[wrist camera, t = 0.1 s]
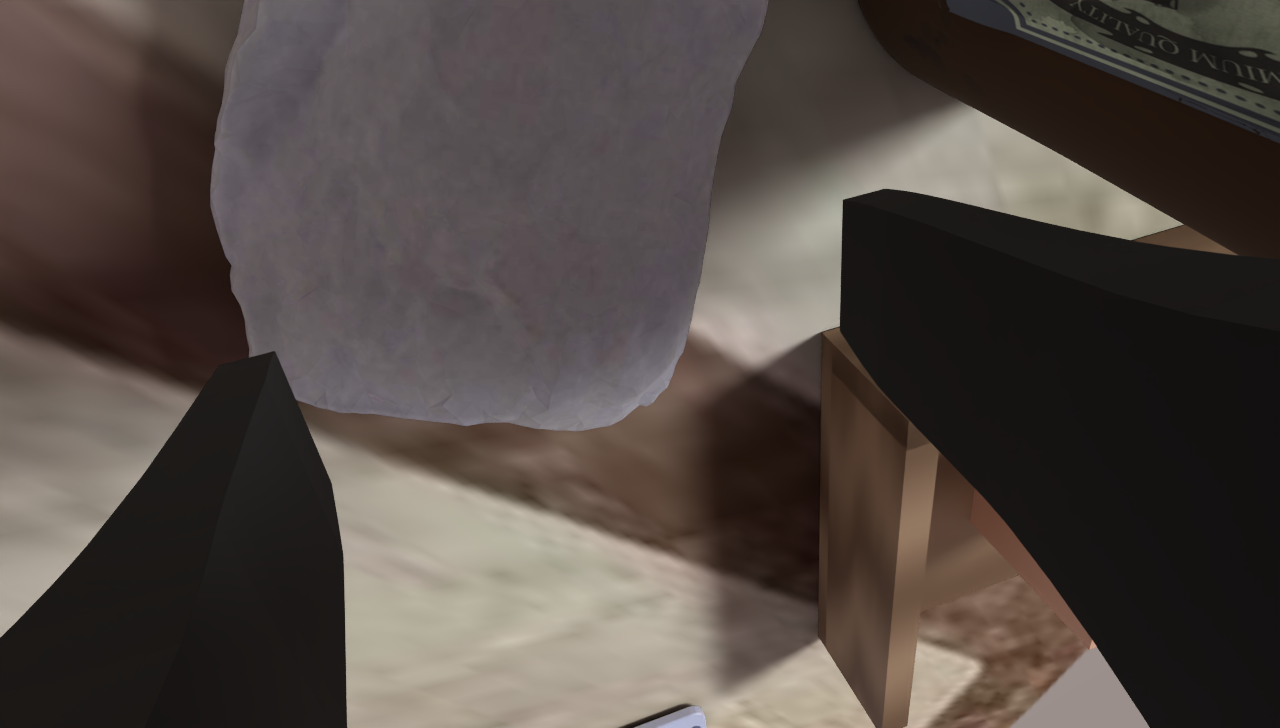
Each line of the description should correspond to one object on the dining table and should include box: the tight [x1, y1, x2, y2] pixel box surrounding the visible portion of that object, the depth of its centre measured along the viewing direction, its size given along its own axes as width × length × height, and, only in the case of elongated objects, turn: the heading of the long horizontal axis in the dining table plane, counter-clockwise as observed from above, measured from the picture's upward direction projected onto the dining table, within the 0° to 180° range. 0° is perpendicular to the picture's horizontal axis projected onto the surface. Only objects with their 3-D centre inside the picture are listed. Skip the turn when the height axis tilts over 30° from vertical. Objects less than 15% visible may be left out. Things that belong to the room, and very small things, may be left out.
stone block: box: [210, 0, 769, 431], centre depth 19 cm, size 12×5×10 cm
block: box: [970, 489, 1097, 650], centre depth 29 cm, size 4×4×6 cm
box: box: [818, 225, 1237, 728], centre depth 30 cm, size 14×16×4 cm
